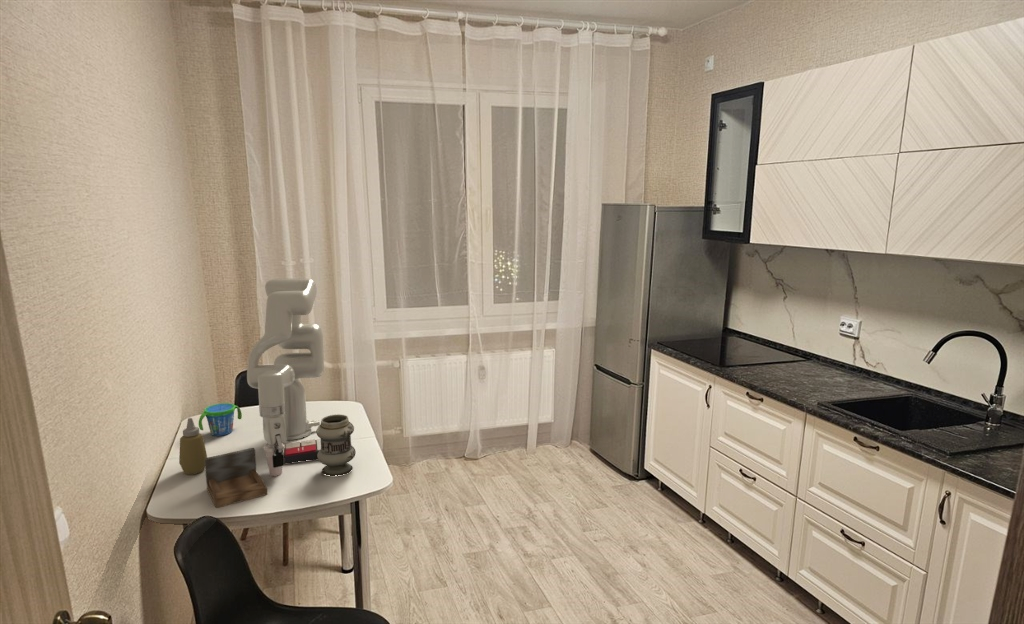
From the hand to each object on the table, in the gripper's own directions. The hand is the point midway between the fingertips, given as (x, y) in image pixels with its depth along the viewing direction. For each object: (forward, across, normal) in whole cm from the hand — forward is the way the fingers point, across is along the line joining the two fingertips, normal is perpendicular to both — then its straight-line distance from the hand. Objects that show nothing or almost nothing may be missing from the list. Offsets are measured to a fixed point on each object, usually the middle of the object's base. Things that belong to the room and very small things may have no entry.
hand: (275, 462), depth 188 cm
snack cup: (+4, +48, +7) cm, 49 cm away
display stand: (+4, -6, +13) cm, 15 cm away
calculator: (+5, +9, -13) cm, 17 cm away
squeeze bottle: (+4, +17, +21) cm, 27 cm away
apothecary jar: (+4, -9, -17) cm, 20 cm away
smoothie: (+4, 0, 0) cm, 4 cm away
